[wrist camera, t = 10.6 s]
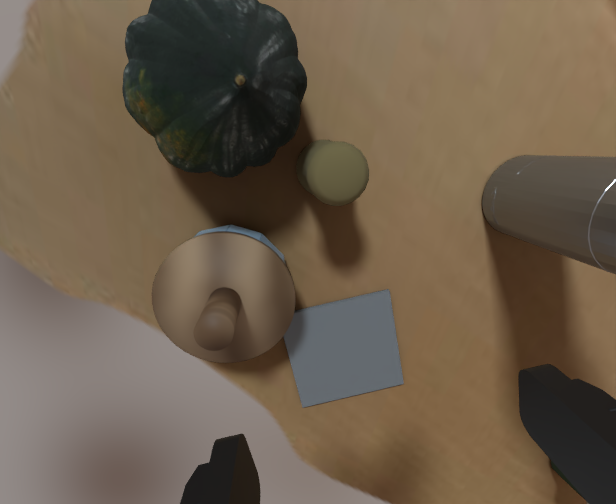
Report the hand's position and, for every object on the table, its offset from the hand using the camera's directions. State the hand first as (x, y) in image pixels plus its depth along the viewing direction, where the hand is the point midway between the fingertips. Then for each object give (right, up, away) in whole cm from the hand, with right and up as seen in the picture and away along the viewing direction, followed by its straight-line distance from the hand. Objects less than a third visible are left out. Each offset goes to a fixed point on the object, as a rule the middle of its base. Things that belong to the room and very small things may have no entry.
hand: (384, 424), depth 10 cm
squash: (-10, +21, +24) cm, 34 cm away
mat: (+2, -8, +34) cm, 35 cm away
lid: (-10, 0, +24) cm, 27 cm away
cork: (0, +14, +27) cm, 31 cm away
